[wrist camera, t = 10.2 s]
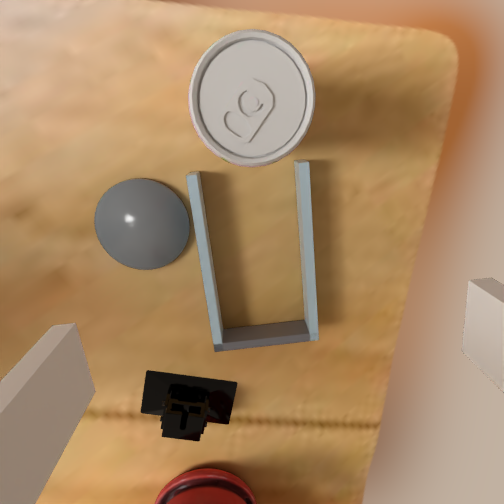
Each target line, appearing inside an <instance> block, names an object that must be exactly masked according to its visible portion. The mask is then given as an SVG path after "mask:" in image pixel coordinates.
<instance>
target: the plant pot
mask: <svg viewBox="0 0 504 504" xmlns="http://www.w3.org/2000/svg"><path fill="white" fill-rule="evenodd" d="M155 504H256V500H255V497H254V495H253V493H252V491H251V490H250V488H249V487H248V486H247V485H246V484H245V483H244V482H243V481H242V480H241V479H240V478H238V477H237V476H235V475H233V474H231V473H229V472H226V471H223V470H218V469H209V468H207V469H197V470H193V471H189V472H186V473H183V474H181V475H179V476H177V477H176V478H174V479H173V480H171V481H170V482H169V483H168V484H167V485H166V486H165V487H164V488H163V489H162V490H161V492H160V493H159V495H158V497H157V499H156V502H155Z"/></svg>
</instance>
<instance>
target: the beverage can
mask: <svg viewBox="0 0 504 504" xmlns="http://www.w3.org/2000/svg"><path fill="white" fill-rule="evenodd" d="M188 101H189V112H190V116H191V120H192V123H193V126H194V128H195V130H196V132H197V134H198V136H199V137H200V139H201V140H202V141H203V143H204V144H205V145H206V147H207V148H208V149H210V150H211V151H212V152H213V153H214V154H215V155H216V156H218V157H220V158H221V159H223V160H225V161H227V162H229V163H232V164H235V165H238V166H245V167H258V166H266V165H269V164H271V163H274V162H277V161H279V160H280V159H282V158H284V157H285V156H287V155H288V154H290V153H291V152H292V151H293V150H294V149H295V148H296V147H297V146H298V145H299V143H300V142H301V141H302V139H303V138H304V136H305V135H306V133H307V131H308V128H309V126H310V124H311V122H312V118H313V114H314V109H315V87H314V81H313V77H312V74H311V72H310V69H309V66H308V64H307V63H306V61H305V60H304V58H303V56H302V55H301V53H300V52H299V51H298V50H297V49H296V48H295V47H294V46H293V45H292V44H291V43H290V42H288V41H287V40H285V39H284V38H282V37H281V36H279V35H276V34H274V33H271V32H268V31H265V30H256V29H248V30H240V31H236V32H233V33H231V34H228V35H225V36H224V37H222V38H221V39H219V40H218V41H216V42H215V43H213V44H212V45H211V46H210V47H209V49H208V50H207V51H206V52H205V53H204V54H203V55H202V57H201V58H200V60H199V62H198V63H197V65H196V67H195V69H194V72H193V75H192V77H191V80H190V86H189V93H188Z"/></svg>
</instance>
